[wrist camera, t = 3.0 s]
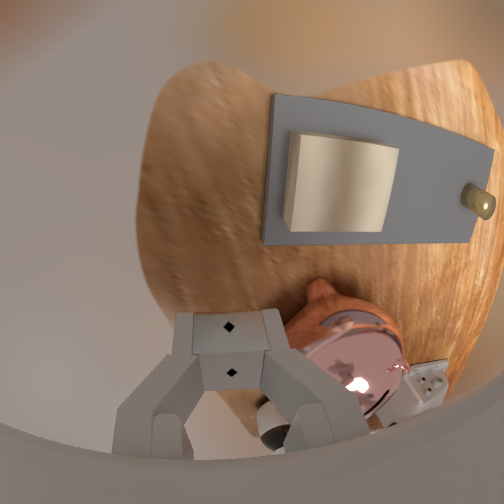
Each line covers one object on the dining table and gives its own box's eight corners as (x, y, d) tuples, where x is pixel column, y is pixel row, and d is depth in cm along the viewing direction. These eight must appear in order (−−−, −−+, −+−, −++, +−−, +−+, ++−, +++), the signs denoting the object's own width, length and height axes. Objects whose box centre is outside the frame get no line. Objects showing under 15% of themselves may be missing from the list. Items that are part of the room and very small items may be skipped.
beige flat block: (381, 141, 23) (399, 149, 21) (367, 218, 27) (381, 231, 25) (290, 129, 22) (301, 134, 19) (282, 216, 26) (290, 231, 23)
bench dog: (477, 184, 27) (498, 197, 23) (471, 207, 28) (491, 220, 25) (464, 181, 26) (486, 194, 23) (457, 205, 28) (478, 219, 24)
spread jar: (248, 407, 46) (257, 463, 36) (280, 375, 42) (295, 439, 32) (301, 411, 50) (314, 460, 40) (335, 381, 46) (355, 435, 36)
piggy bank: (228, 348, 37) (241, 459, 23) (317, 248, 30) (386, 366, 17) (309, 372, 43) (337, 459, 29) (391, 296, 36) (450, 383, 22)
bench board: (486, 146, 26) (494, 149, 24) (462, 237, 33) (468, 243, 31) (271, 94, 21) (275, 93, 20) (261, 238, 29) (264, 245, 27)
